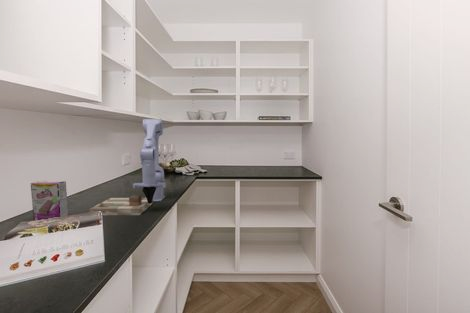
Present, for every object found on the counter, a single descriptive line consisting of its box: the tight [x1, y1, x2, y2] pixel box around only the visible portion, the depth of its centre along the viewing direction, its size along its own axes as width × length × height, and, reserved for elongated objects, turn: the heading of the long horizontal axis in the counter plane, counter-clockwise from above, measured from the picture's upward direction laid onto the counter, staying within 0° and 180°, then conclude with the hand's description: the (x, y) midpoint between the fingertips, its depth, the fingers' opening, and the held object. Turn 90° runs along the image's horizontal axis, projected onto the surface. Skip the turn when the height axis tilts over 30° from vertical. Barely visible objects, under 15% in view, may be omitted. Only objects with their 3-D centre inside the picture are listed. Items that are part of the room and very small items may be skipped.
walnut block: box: [128, 194, 142, 206], centre depth 108 cm, size 4×4×4 cm
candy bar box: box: [30, 180, 69, 221], centre depth 97 cm, size 11×5×16 cm, turn 92°
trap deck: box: [89, 197, 154, 216], centre depth 112 cm, size 18×22×3 cm
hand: (150, 202), depth 109 cm, fingers closed
